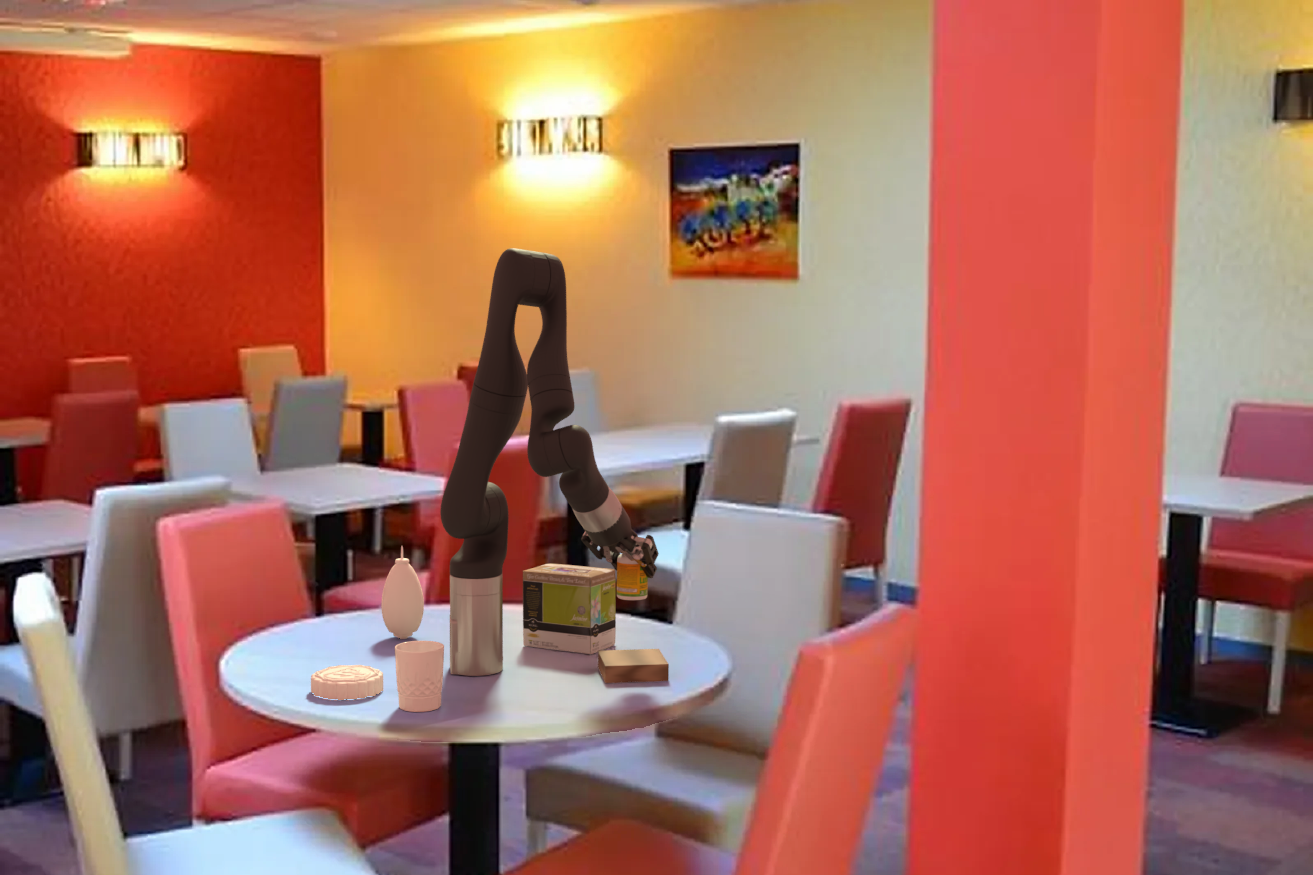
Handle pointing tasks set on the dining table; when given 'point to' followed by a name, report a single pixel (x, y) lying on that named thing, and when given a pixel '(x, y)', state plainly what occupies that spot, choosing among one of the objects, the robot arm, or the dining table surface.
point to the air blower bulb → (402, 599)
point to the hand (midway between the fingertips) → (637, 571)
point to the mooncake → (347, 682)
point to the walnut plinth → (633, 665)
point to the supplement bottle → (631, 579)
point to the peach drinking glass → (419, 675)
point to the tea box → (569, 608)
